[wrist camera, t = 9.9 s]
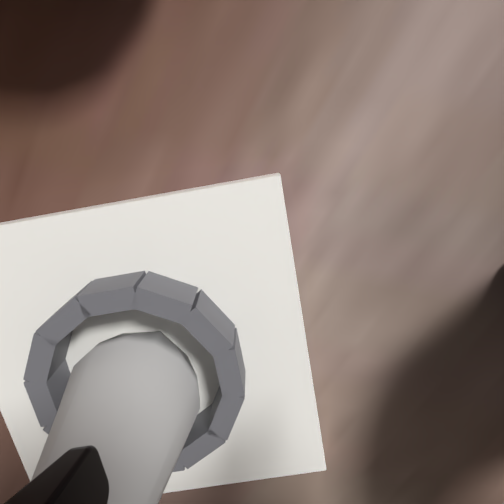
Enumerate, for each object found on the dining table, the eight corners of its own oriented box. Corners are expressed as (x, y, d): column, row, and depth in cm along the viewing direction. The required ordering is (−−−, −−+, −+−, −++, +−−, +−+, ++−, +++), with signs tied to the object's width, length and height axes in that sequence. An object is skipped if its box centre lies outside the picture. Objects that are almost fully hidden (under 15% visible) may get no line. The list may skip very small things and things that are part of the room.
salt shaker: (182, 428, 22) (90, 848, 9) (75, 394, 21) (-178, 798, 9) (222, 337, 20) (173, 707, 8) (106, 296, 19) (-155, 630, 7)
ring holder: (278, 172, 19) (283, 180, 16) (323, 455, 23) (333, 502, 20) (-56, 232, 20) (-109, 251, 17) (50, 495, 24) (23, 544, 21)
